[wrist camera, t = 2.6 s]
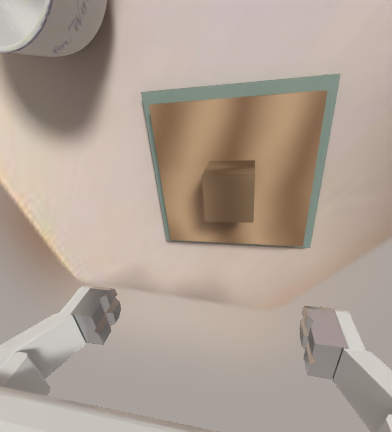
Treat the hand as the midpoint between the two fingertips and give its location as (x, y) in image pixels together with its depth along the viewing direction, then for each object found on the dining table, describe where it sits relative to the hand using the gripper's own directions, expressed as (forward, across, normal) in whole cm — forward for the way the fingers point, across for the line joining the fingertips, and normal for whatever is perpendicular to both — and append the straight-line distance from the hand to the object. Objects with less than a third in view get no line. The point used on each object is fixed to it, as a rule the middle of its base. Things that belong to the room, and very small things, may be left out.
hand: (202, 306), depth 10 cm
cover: (+16, 0, 0) cm, 16 cm away
